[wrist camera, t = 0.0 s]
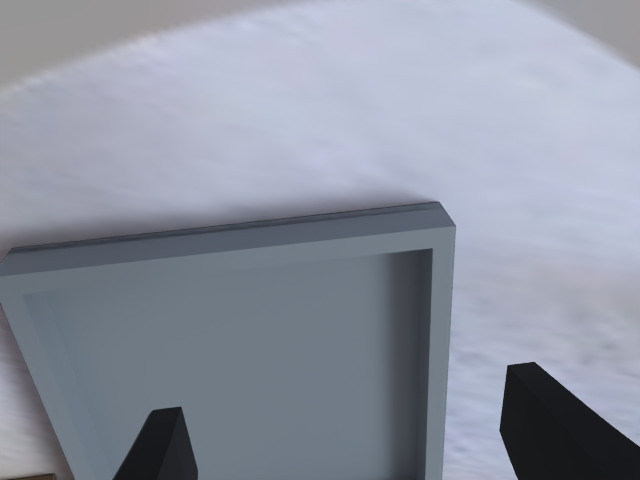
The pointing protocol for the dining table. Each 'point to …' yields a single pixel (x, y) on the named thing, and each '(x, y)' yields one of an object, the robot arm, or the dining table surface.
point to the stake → (40, 478)
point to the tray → (248, 343)
